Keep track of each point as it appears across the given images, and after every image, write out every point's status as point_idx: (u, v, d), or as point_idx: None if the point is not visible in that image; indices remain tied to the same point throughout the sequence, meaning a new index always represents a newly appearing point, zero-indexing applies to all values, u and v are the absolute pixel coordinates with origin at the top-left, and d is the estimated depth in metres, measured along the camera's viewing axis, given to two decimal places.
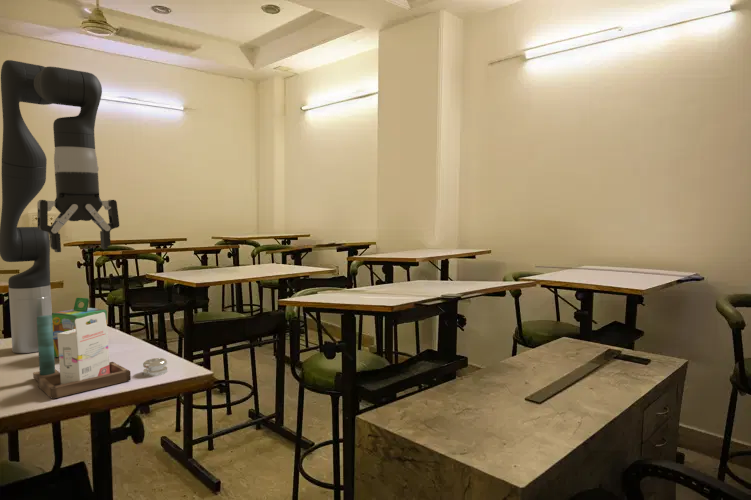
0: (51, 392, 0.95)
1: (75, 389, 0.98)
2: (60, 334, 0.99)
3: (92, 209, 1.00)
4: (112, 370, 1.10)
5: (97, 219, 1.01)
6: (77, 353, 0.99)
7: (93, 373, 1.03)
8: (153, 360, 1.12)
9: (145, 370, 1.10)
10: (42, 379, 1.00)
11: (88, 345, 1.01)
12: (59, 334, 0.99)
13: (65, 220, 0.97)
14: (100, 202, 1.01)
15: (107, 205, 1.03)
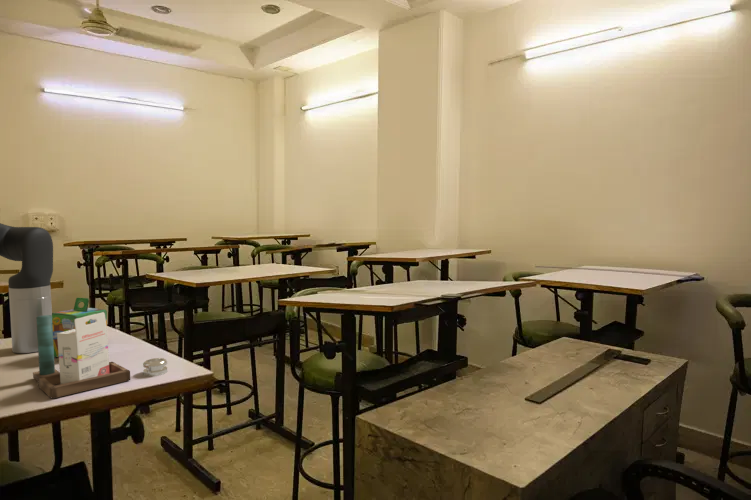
0: (51, 392, 0.95)
1: (75, 389, 0.98)
2: (60, 334, 1.00)
3: None
4: (112, 370, 1.11)
5: None
6: (77, 352, 0.99)
7: (93, 373, 1.03)
8: (153, 360, 1.12)
9: (145, 370, 1.10)
10: (42, 379, 1.00)
11: (88, 345, 1.02)
12: (59, 334, 1.00)
13: None
14: None
15: None
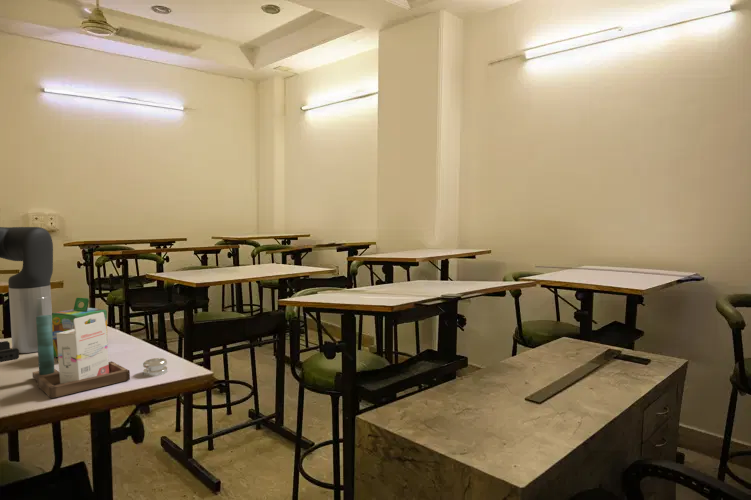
0: (50, 391, 0.95)
1: (75, 388, 0.98)
2: (59, 334, 1.00)
3: None
4: (111, 370, 1.11)
5: None
6: (76, 352, 0.99)
7: (93, 373, 1.03)
8: (153, 360, 1.12)
9: (145, 370, 1.10)
10: (41, 379, 1.01)
11: (87, 345, 1.02)
12: (58, 334, 1.00)
13: None
14: None
15: None
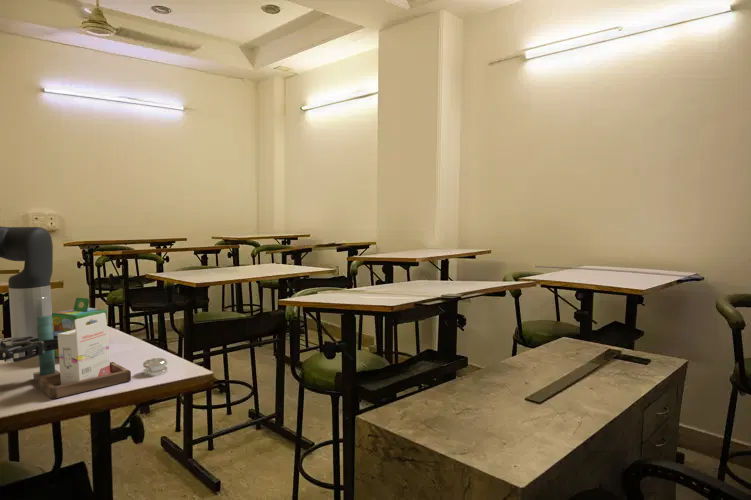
0: (51, 392, 0.95)
1: (76, 389, 0.98)
2: (60, 334, 0.99)
3: None
4: (112, 370, 1.10)
5: None
6: (77, 353, 0.99)
7: (93, 374, 1.03)
8: (153, 360, 1.12)
9: (145, 370, 1.10)
10: (42, 379, 1.00)
11: (88, 346, 1.01)
12: (59, 334, 0.99)
13: None
14: (7, 359, 0.98)
15: None
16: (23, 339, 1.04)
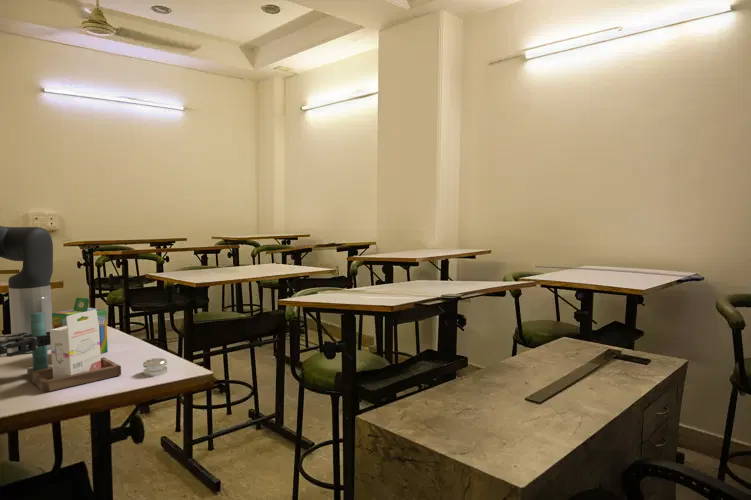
0: (43, 386, 0.99)
1: (67, 383, 1.01)
2: (52, 330, 1.03)
3: None
4: (103, 365, 1.14)
5: None
6: (68, 348, 1.03)
7: (85, 368, 1.06)
8: (153, 360, 1.12)
9: (145, 370, 1.10)
10: (35, 373, 1.04)
11: (79, 341, 1.05)
12: (51, 330, 1.03)
13: None
14: (1, 354, 1.02)
15: None
16: (17, 335, 1.08)
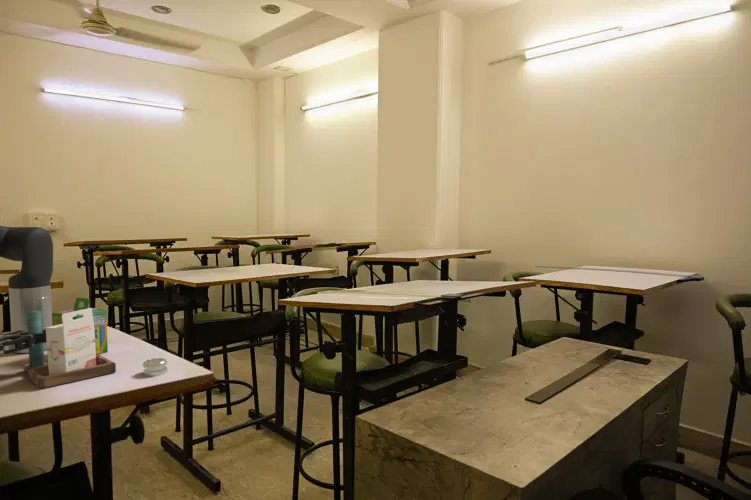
0: (39, 382, 1.01)
1: (62, 379, 1.04)
2: (48, 328, 1.05)
3: None
4: (99, 363, 1.16)
5: None
6: (64, 346, 1.05)
7: (80, 365, 1.09)
8: (153, 360, 1.12)
9: (145, 370, 1.10)
10: (31, 370, 1.06)
11: (75, 339, 1.07)
12: (47, 328, 1.05)
13: None
14: None
15: None
16: (13, 333, 1.10)
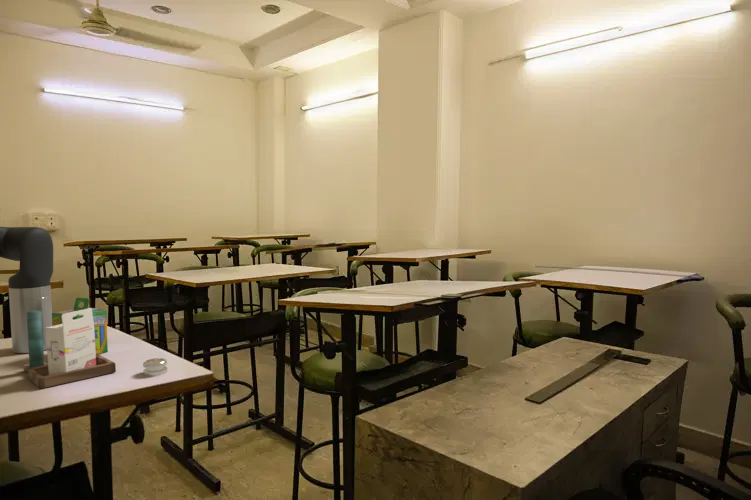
0: (39, 382, 1.01)
1: (62, 379, 1.04)
2: (48, 328, 1.05)
3: None
4: (99, 363, 1.16)
5: None
6: (64, 346, 1.05)
7: (80, 365, 1.09)
8: (153, 360, 1.12)
9: (145, 370, 1.10)
10: (31, 370, 1.06)
11: (75, 339, 1.07)
12: (47, 328, 1.05)
13: None
14: None
15: None
16: None
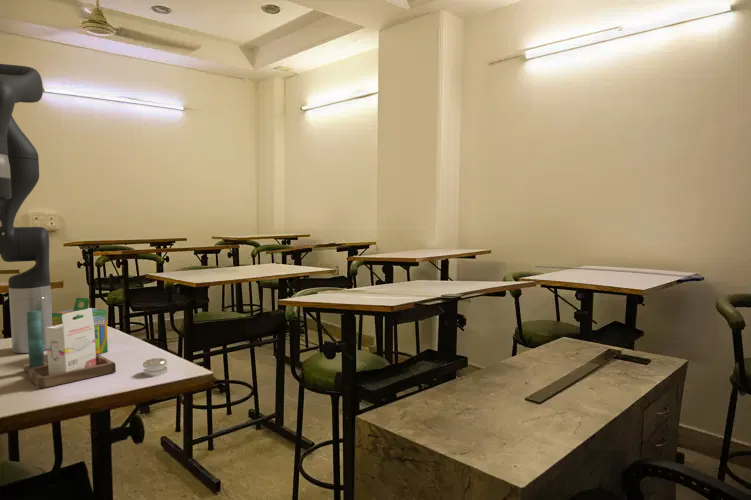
0: (39, 382, 1.01)
1: (62, 379, 1.04)
2: (48, 328, 1.05)
3: None
4: (99, 363, 1.16)
5: None
6: (64, 346, 1.05)
7: (80, 366, 1.09)
8: (153, 360, 1.12)
9: (145, 370, 1.10)
10: (31, 370, 1.06)
11: (75, 339, 1.07)
12: (47, 328, 1.05)
13: None
14: None
15: None
16: None
